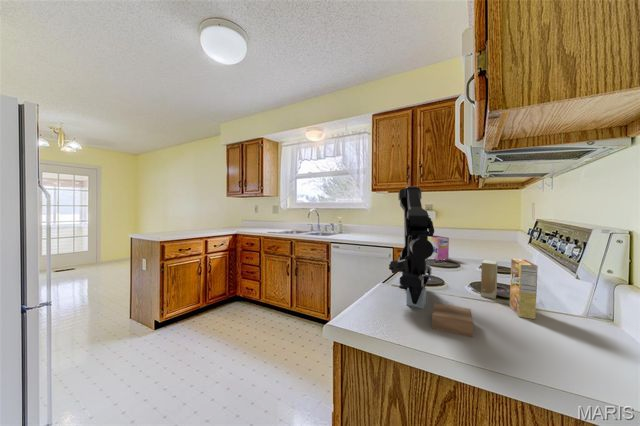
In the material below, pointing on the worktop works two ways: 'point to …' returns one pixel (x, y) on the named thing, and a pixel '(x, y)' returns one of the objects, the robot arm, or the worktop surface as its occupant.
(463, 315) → the walnut block
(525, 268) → the candy box
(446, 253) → the gum box
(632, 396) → the worktop surface
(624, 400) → the worktop surface
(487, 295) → the skincare box
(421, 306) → the slate cube
